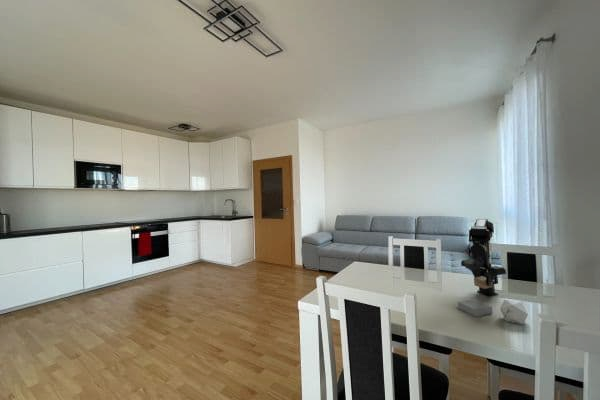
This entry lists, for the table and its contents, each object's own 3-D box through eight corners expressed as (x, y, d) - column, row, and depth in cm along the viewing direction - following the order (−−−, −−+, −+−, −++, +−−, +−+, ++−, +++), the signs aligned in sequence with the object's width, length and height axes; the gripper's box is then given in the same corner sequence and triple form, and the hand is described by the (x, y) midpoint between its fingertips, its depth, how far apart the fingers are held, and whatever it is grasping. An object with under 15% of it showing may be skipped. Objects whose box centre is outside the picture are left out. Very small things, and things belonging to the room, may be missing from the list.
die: (495, 316, 102) (493, 303, 97) (510, 304, 102) (509, 291, 98) (517, 332, 94) (516, 319, 90) (534, 319, 95) (533, 305, 90)
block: (482, 284, 117) (482, 276, 117) (492, 287, 112) (491, 279, 112) (474, 285, 116) (473, 277, 116) (484, 288, 111) (483, 280, 111)
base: (473, 305, 112) (473, 298, 112) (492, 313, 103) (491, 306, 103) (458, 307, 110) (457, 301, 110) (475, 316, 101) (475, 309, 102)
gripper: (451, 250, 122) (453, 280, 121) (485, 258, 103) (488, 293, 103) (468, 248, 124) (471, 277, 123) (505, 255, 106) (508, 289, 105)
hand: (483, 284), depth 114 cm, fingers closed on block, 5 cm apart
